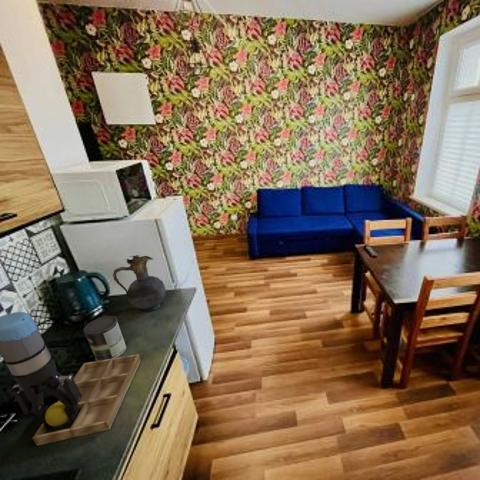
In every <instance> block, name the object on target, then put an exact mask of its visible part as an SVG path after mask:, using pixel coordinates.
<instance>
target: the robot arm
mask: <svg viewBox="0 0 480 480" xmlns="http://www.w3.org/2000/svg"><path fill="white" fill-rule="evenodd" d="M0 356H1V358H2V360H3V362H4V363H5V365H6V367H7V368H8V370H9V371H10V374H11V375H12V376H13V378H14V380H15V382H16V383H15V384H14V385H13V387H11V389H9V391H8V393H9V394H11V395H12V396H14V398H15V400H16V402H17V403H18V406H19V408H20V409H21V411H22V413H23V414H24V415H29V414H33V415H35V416H36V418H37V420H39V421H41V422H42V424H44V426H45V427H46V429H50V427H51V426H50V425H49V424H48V423H47V422H46V419H45V413H46V411H47V409H48V408H49V407H50V406H49V405H47V404H46V402H44V393H47V394H48V395H49V396H53V397H54V398H55V399H56V400H57V401H58V400H59V401H60V402H61V403H62V404H64V405H65V406H66V407H65V409H64V410H65V412H66V414H67V416H68V418H69V420H70V422H71V424H73V423H74V421H75V420H76V418H77V416H78V414H79V413H78V411H77V410H78V409H79V407H78V405H77V404H78V403H79V401H80V399H81V398H82V394H81V392H80V391H79V389H78V387H77V385H76V383H75V381H74V380H73V379H74V377H75V375H74V373H68V374H67V375H62V374H60V373H59V372H58V371H57V365H56V362H55V360H54V358H53V357H52V355H51V353H50V351H49V349H48V347H47V344H46V343H45V341H44V339H43V337H42V335H41V332H40V331H39V328H38V325H37V323H36V322H35V320H34V319H33V318H32V316H31V314H29V313H28V312H25V311H16V312H15V311H14V312H12V313H9V314H4V315H1V316H0ZM45 404H46V405H45Z"/></svg>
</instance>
